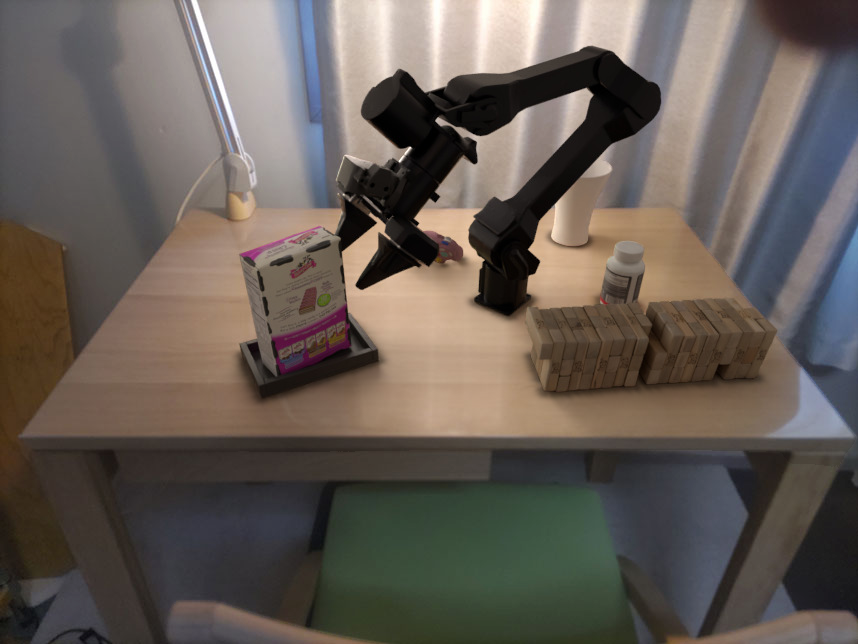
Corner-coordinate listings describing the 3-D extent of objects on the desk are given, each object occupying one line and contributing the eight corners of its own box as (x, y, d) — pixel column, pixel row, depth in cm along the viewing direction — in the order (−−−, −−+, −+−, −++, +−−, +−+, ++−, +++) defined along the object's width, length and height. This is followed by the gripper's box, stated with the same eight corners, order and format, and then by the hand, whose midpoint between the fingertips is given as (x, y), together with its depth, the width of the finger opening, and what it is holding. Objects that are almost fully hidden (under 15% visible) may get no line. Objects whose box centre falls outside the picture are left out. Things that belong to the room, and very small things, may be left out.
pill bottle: (621, 292, 93) (634, 235, 88) (643, 310, 89) (658, 252, 84) (591, 298, 92) (602, 241, 86) (612, 317, 88) (625, 258, 82)
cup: (530, 242, 107) (539, 169, 99) (553, 220, 114) (562, 150, 107) (587, 257, 102) (600, 182, 95) (607, 234, 110) (621, 162, 102)
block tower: (724, 347, 83) (518, 355, 80) (744, 296, 79) (526, 301, 75) (755, 384, 77) (532, 394, 74) (779, 331, 72) (542, 338, 69)
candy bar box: (331, 330, 84) (320, 223, 74) (352, 347, 81) (343, 237, 71) (259, 364, 78) (236, 251, 68) (278, 383, 75) (258, 268, 65)
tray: (351, 323, 86) (350, 312, 85) (378, 361, 79) (378, 349, 78) (241, 355, 80) (239, 343, 79) (261, 398, 73) (258, 386, 72)
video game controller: (403, 264, 103) (395, 239, 97) (413, 243, 105) (405, 217, 99) (458, 275, 100) (452, 250, 94) (466, 254, 102) (461, 228, 96)
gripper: (345, 109, 74) (271, 209, 76) (414, 156, 61) (321, 276, 63) (404, 160, 82) (335, 250, 84) (476, 212, 68) (392, 318, 70)
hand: (343, 270), depth 75 cm, fingers open, 9 cm apart
